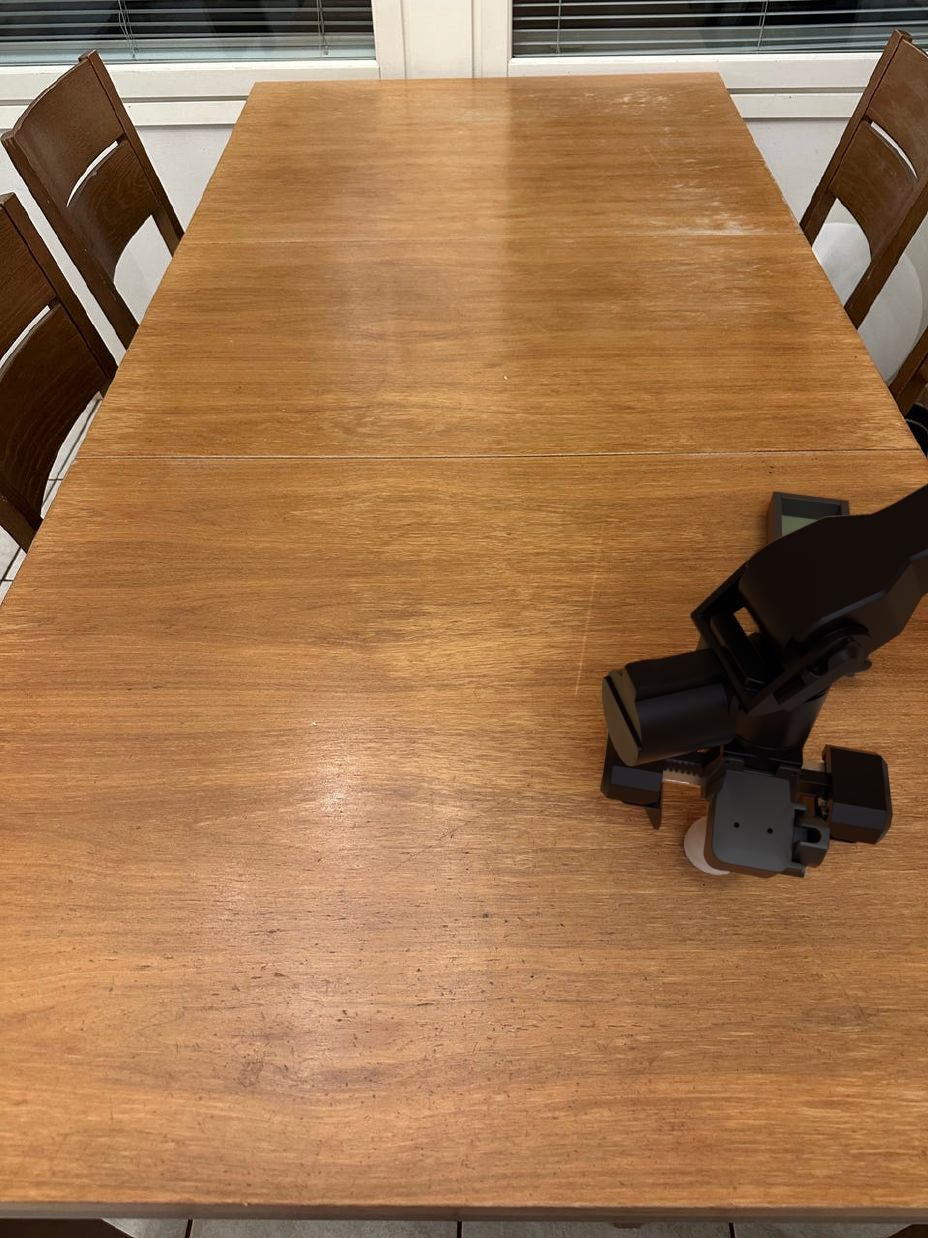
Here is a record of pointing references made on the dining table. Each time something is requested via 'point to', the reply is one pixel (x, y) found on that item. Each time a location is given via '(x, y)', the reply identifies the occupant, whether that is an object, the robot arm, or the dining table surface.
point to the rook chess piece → (698, 846)
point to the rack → (799, 513)
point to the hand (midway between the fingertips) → (718, 835)
